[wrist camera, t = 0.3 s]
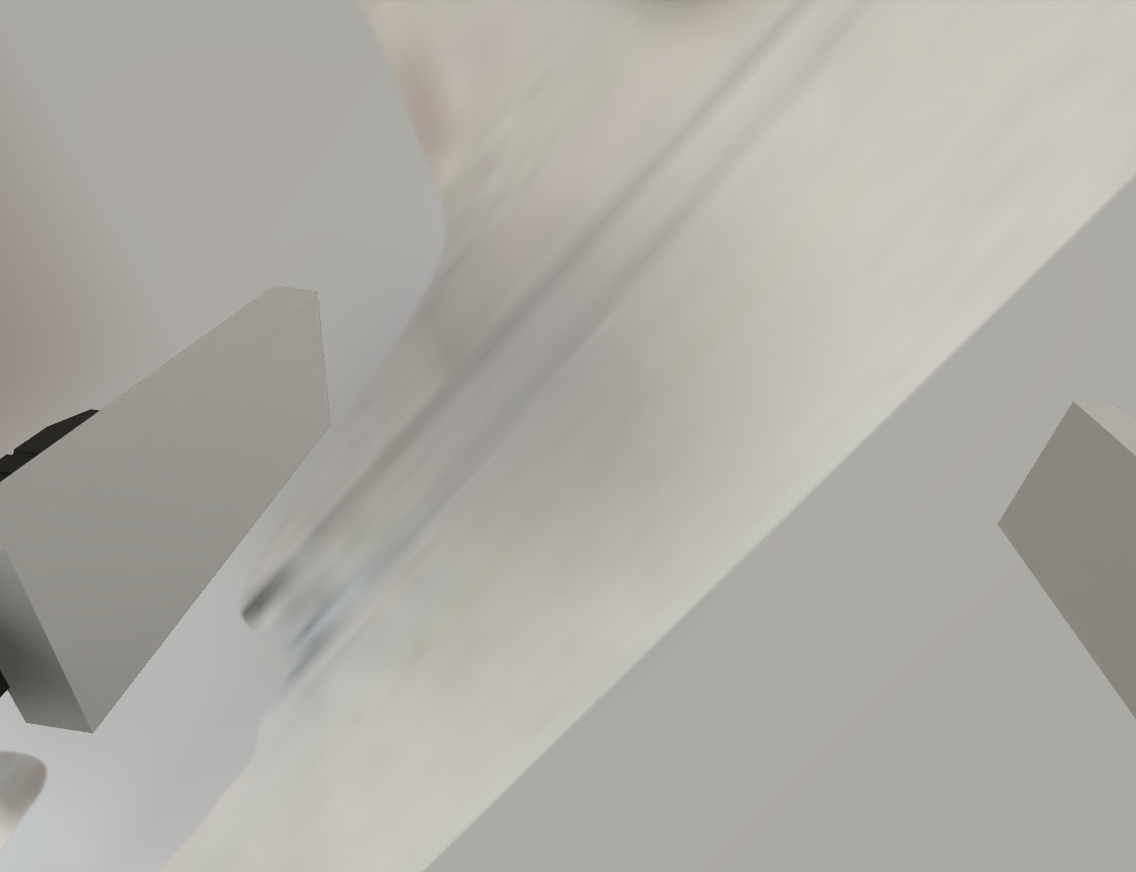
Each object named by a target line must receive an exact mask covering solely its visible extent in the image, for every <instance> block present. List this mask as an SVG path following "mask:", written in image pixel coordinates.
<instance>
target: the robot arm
mask: <svg viewBox="0 0 1136 872" xmlns="http://www.w3.org/2000/svg"><path fill="white" fill-rule="evenodd" d="M329 427H330V414H329V404H328V394H327V384H326V374H325V364H324V353H323V344H322V333H321V323H320V313H319V303H318V293H317V292H315V291H308V290H301V289H294V288H287V287H281V286H273V287H272V288H270V289H269V290H267V291H266V292H265V293H263V294H262V295H261V296H259V297H258V298H257V299H255V300H254V301H252V302H251V303H249V304H248V305H247V306H245V307H244V308H242V309H241V310H240V311H238V312H237V313H235V314H234V315H233V316H231V317H230V318H228V319H227V320H226V321H224V322H223V323H222V324H220V325H219V326H217V327H216V328H215V329H213V330H212V331H210V332H209V333H208V334H206V335H205V336H203V337H202V338H201V339H199V340H198V341H196V342H195V343H194V344H192V345H191V346H189V347H188V348H187V349H185V350H184V351H183V352H181V353H180V354H178V355H177V356H175V357H174V358H173V359H171V360H170V361H169V362H167V363H166V364H164V365H163V366H161V367H160V368H159V369H157V370H156V371H155V372H153V373H152V374H150V375H149V376H148V377H146V378H145V379H143V380H142V381H141V382H139V383H138V384H136V385H135V386H134V387H132V388H131V389H129V390H128V391H127V392H125V393H124V394H122V395H121V396H120V397H118V398H117V399H116V400H114V401H113V402H111V403H110V404H109V405H107V406H106V407H104V408H103V409H102V410H100V411H99V410H92V409H91V410H88V411H86V412H83V413H80V414H78V415H75V416H73V417H70V418H68V419H65V420H63V421H61V422H58V423H55V424H53V425H50V426H48V427H46V428H45V429H43V430H42V431H40V432H39V433H37V434H36V435H35V436H33V437H32V438H30V439H29V440H27V441H26V442H24V443H23V444H21V445H20V446H18V447H17V448H16V449H14V453H13V455H8V454H7V455H5V456H4V457H2V458H1V459H0V697H1V696H2V695H3V694H4V693H5V692H6V691H7V690H8V691H9V693H10V695H11V697H12V698H13V700H14V702H15V704H16V705H17V707H18V709H19V711H20V713H21V714H22V716H23V718H24V720H25V721H26V723H32V724H38V725H45V726H50V727H57V728H64V729H70V730H76V731H82V732H88V733H93V732H94V731H95V730H96V728H97V727H98V726H99V725H100V723H101V722H102V721H103V719H104V718H105V717H106V715H107V714H108V713H109V712H110V710H111V709H112V707H113V706H114V705H115V704H116V702H117V701H118V700H119V699H120V697H121V696H122V695H123V693H124V692H125V691H126V690H127V688H128V687H129V686H130V684H131V683H132V682H133V681H134V679H135V678H136V677H137V675H138V674H139V673H140V671H141V670H142V669H143V668H144V666H145V665H146V664H147V662H148V661H149V660H150V658H151V657H152V656H153V655H154V653H155V652H156V651H157V649H158V648H159V647H160V646H161V644H162V643H163V641H164V640H165V639H166V638H167V636H168V635H169V634H170V633H171V631H172V630H173V629H174V627H175V626H176V625H177V624H178V622H179V621H180V620H181V618H182V617H183V616H184V614H185V613H186V612H187V611H188V609H189V608H190V607H191V605H192V604H193V603H194V601H195V600H196V599H197V598H198V596H199V595H200V594H201V592H202V591H203V590H204V589H205V587H206V586H207V585H208V583H209V582H210V581H211V579H212V578H213V577H214V576H215V574H216V573H217V572H218V570H219V569H220V568H221V567H222V565H223V564H224V563H225V561H226V560H227V559H228V557H229V556H230V555H231V553H232V552H233V551H234V550H235V548H236V547H237V546H238V544H239V543H240V542H241V541H242V539H243V538H244V537H245V535H246V534H247V533H248V532H249V530H250V529H251V528H252V526H253V525H254V524H255V522H256V521H257V520H258V518H259V517H260V516H261V514H262V513H263V512H264V511H265V509H266V508H267V507H268V506H269V504H270V503H271V502H272V500H273V499H274V498H275V496H276V495H277V494H278V493H279V491H280V490H281V489H282V487H283V486H284V485H285V484H286V482H287V481H288V480H289V478H290V477H291V476H292V475H293V473H294V472H295V471H296V469H297V468H298V467H299V465H300V464H301V463H302V462H303V460H304V459H305V458H306V456H307V455H308V454H309V452H310V451H311V450H312V449H313V447H314V446H315V445H316V443H317V442H318V441H319V439H320V438H321V437H322V436H323V434H324V433H325V432H326V430H327V429H328V428H329ZM998 526H999V527H1000V528H1001V530H1002V531H1003V532H1004V534H1005V535H1006V537H1007V538H1008V540H1009V541H1010V542H1011V544H1012V545H1013V547H1014V548H1015V549H1016V551H1017V552H1018V554H1019V555H1020V556H1021V558H1022V559H1023V560H1024V562H1025V563H1026V565H1027V566H1028V568H1029V569H1030V571H1031V572H1032V573H1033V575H1034V576H1035V578H1036V579H1037V580H1038V582H1039V583H1040V585H1041V586H1042V588H1043V589H1044V590H1045V592H1046V593H1047V594H1048V596H1049V597H1050V599H1051V600H1052V602H1053V603H1054V604H1055V606H1056V607H1057V608H1058V610H1059V611H1060V613H1061V614H1062V616H1063V617H1064V619H1065V620H1066V621H1067V623H1068V624H1069V625H1070V627H1071V628H1072V630H1073V631H1074V632H1075V634H1076V635H1077V637H1078V638H1079V640H1080V641H1081V642H1082V644H1083V645H1084V647H1085V648H1086V649H1087V651H1088V652H1089V654H1090V655H1091V657H1092V658H1093V659H1094V661H1095V662H1096V664H1097V665H1098V666H1099V668H1100V669H1101V671H1102V672H1103V673H1104V675H1105V676H1106V678H1107V679H1108V681H1109V682H1110V683H1111V685H1112V686H1113V688H1114V689H1115V690H1116V692H1117V693H1118V695H1119V696H1120V697H1121V699H1122V700H1123V702H1124V703H1125V704H1126V706H1127V707H1128V708H1129V710H1130V711H1131V713H1132V714H1133V716H1134V717H1135V719H1136V422H1135V421H1134V420H1133V419H1132V418H1130V417H1129V416H1128V415H1127V414H1125V413H1124V412H1123V411H1122V410H1121V409H1119V408H1117V407H1110V406H1103V405H1097V404H1089V403H1083V402H1076V401H1073V402H1072V404H1071V406H1070V407H1069V409H1068V411H1067V412H1066V414H1065V415H1064V417H1063V419H1062V420H1061V422H1060V423H1059V425H1058V427H1057V428H1056V430H1055V432H1054V433H1053V435H1052V436H1051V438H1050V440H1049V441H1048V443H1047V445H1046V446H1045V448H1044V450H1043V451H1042V453H1041V454H1040V456H1039V458H1038V459H1037V461H1036V462H1035V464H1034V466H1033V467H1032V469H1031V471H1030V472H1029V474H1028V475H1027V477H1026V479H1025V480H1024V482H1023V484H1022V485H1021V487H1020V488H1019V490H1018V492H1017V493H1016V495H1015V497H1014V498H1013V500H1012V501H1011V503H1010V505H1009V507H1008V508H1007V510H1006V511H1005V513H1004V514H1003V516H1002V518H1001V520H1000V521H999V523H998Z"/></svg>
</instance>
